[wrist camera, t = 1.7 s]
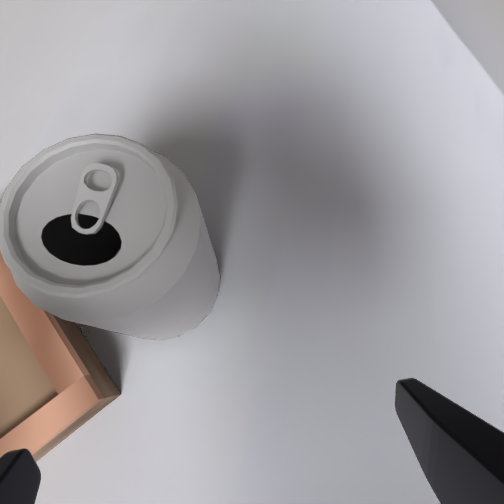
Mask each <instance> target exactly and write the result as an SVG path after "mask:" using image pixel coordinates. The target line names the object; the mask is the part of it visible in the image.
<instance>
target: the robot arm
mask: <svg viewBox="0 0 504 504" xmlns="http://www.w3.org/2000/svg"><path fill="white" fill-rule="evenodd" d="M395 408H396V412H397V415H398V417H399V419H400V421H401V424H402V426H403V428H404V430H405V432H406V435H407V437H408V439H409V441H410V443H411V446H412V448H413V450H414V452H415V454H416V457H417V459H418V461H419V463H420V465H421V468H422V470H423V472H424V474H425V476H426V478H427V480H428V482H429V484H430V485H431V487H432V489H433V491H434V493H435V494H436V496H437V498H438V499H439V501H440V503H441V504H504V433H503V432H502V431H500V430H499V429H497V428H495V427H494V426H492V425H490V424H489V423H487V422H485V421H484V420H482V419H481V418H479V417H477V416H476V415H474V414H472V413H471V412H469V411H467V410H466V409H464V408H463V407H461V406H459V405H458V404H456V403H454V402H453V401H451V400H449V399H448V398H446V397H444V396H443V395H441V394H440V393H438V392H436V391H435V390H433V389H431V388H430V387H428V386H426V385H425V384H423V383H422V382H420V381H418V380H417V379H414V378H408V379H402V380H399V381H397V383H396V395H395ZM40 480H41V473H40V469H39V467H38V466H37V464H36V462H35V460H34V458H33V456H32V454H31V452H30V451H29V450H28V449H25V448H23V449H18V450H12V451H9V452H7V453H5V454H4V455H3V456H2V457H1V458H0V504H35V500H36V496H37V492H38V489H39V485H40Z"/></svg>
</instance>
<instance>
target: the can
mask: <svg viewBox="0 0 504 504" xmlns="http://www.w3.org/2000/svg"><path fill="white" fill-rule="evenodd" d="M0 251H1V254H2V256H3V259H4V262H5V264H6V265H7V266H8V267H9V268H10V270H11V273H12V276H13V278H14V281H15V284H16V285H17V287H18V288H19V289H20V290H21V291H22V292H23V293H24V294H25V295H26V296H27V297H28V298H29V299H30V301H31V302H32V303H33V304H34V305H35V306H36V307H38V308H40V309H42V310H45V311H47V312H49V313H51V314H53V315H55V316H57V317H59V318H61V319H63V320H67V321H71V322H76V323H80V324H84V325H88V326H92V327H97V328H101V329H105V330H109V331H113V332H118V333H122V334H126V335H130V336H134V337H139V338H144V339H153V340H165V339H169V338H174V337H179V336H181V335H183V334H185V333H186V332H188V331H190V330H192V329H193V328H195V327H197V326H198V325H199V324H200V323H201V321H202V320H203V319H204V318H205V317H206V316H207V315H208V314H209V313H210V311H211V309H212V307H213V305H214V303H215V301H216V299H217V297H218V292H219V284H220V274H219V268H218V263H217V259H216V256H215V253H214V250H213V246H212V243H211V240H210V237H209V233H208V230H207V227H206V224H205V221H204V217H203V214H202V211H201V208H200V204H199V201H198V198H197V195H196V193H195V191H194V189H193V188H192V186H191V184H190V183H189V181H188V179H187V178H186V176H185V174H184V173H183V171H182V170H180V169H179V168H178V167H177V166H176V165H174V164H173V163H172V162H171V161H170V160H168V159H167V158H166V157H165V156H163V155H161V154H159V153H156V152H154V151H151V150H149V149H148V148H147V147H145V146H144V145H142V144H140V143H137V142H135V141H132V140H130V139H127V138H125V137H122V136H115V135H104V134H91V135H85V136H79V137H74V138H69V139H66V140H64V141H62V142H60V143H57V144H55V145H53V146H51V147H48V148H46V149H44V150H43V151H41V152H40V153H39V154H37V155H36V156H35V157H34V158H32V159H31V160H30V161H29V162H27V163H26V164H25V165H23V166H22V167H21V169H20V170H19V171H18V173H17V174H16V175H15V177H14V178H13V179H12V181H11V182H10V183H9V185H8V186H7V187H6V189H5V192H4V194H3V197H2V200H1V203H0Z"/></svg>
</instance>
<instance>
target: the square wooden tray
mask: <svg viewBox="0 0 504 504" xmlns="http://www.w3.org/2000/svg"><path fill="white" fill-rule="evenodd" d="M120 395H121V393H120V392H119V390H118V389H117V387H116V385H115V384H114V382H113V381H112V379H111V378H110V376H109V374H108V373H107V371H106V370H105V368H104V367H103V365H102V363H101V362H100V360H99V359H98V357H97V356H96V354H95V353H94V351H93V349H92V348H91V346H90V345H89V343H88V342H87V340H86V338H85V337H84V335H83V334H82V332H81V331H80V329H79V327H78V326H77V324H76V323H75V322H71V321H67V320H63V319H61V318H59V317H57V316H55V315H53V314H51V313H49V312H47V311H45V310H42V309H40V308H38V307H36V306H35V305H34V304H33V303H32V302H31V301H30V299H29V298H28V297H27V296H26V295H25V294H24V293H23V292H22V291H21V290H20V289H19V288H18V287H17V285H16V284H15V281H14V278H13V276H12V273H11V270H10V268H9V267H8V266H7V265H6V264H5V262H4V259H3V256H2V254H1V251H0V458H1V457H2V456H3V455H4V454H5V453H7V452H9V451H12V450H18V449H23V448H25V449H28V450H29V451H30V452H31V454H32V456H33V458H34V460H35V462H36V461H37V460H39V459H40V458H41V457H42V456H44V455H45V454H46V453H47V452H49V451H50V450H51V449H53V448H54V447H55V446H56V445H58V444H59V443H60V442H61V441H63V440H64V439H65V438H66V437H68V436H69V435H70V434H71V433H73V432H74V431H75V430H77V429H78V428H79V427H80V426H82V425H83V424H84V423H85V422H87V421H88V420H89V419H90V418H92V417H93V416H94V415H96V414H97V413H98V412H99V411H101V410H102V409H103V408H104V407H106V406H107V405H108V404H109V403H111V402H112V401H113V400H114V399H116V398H117V397H118V396H120Z"/></svg>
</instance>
